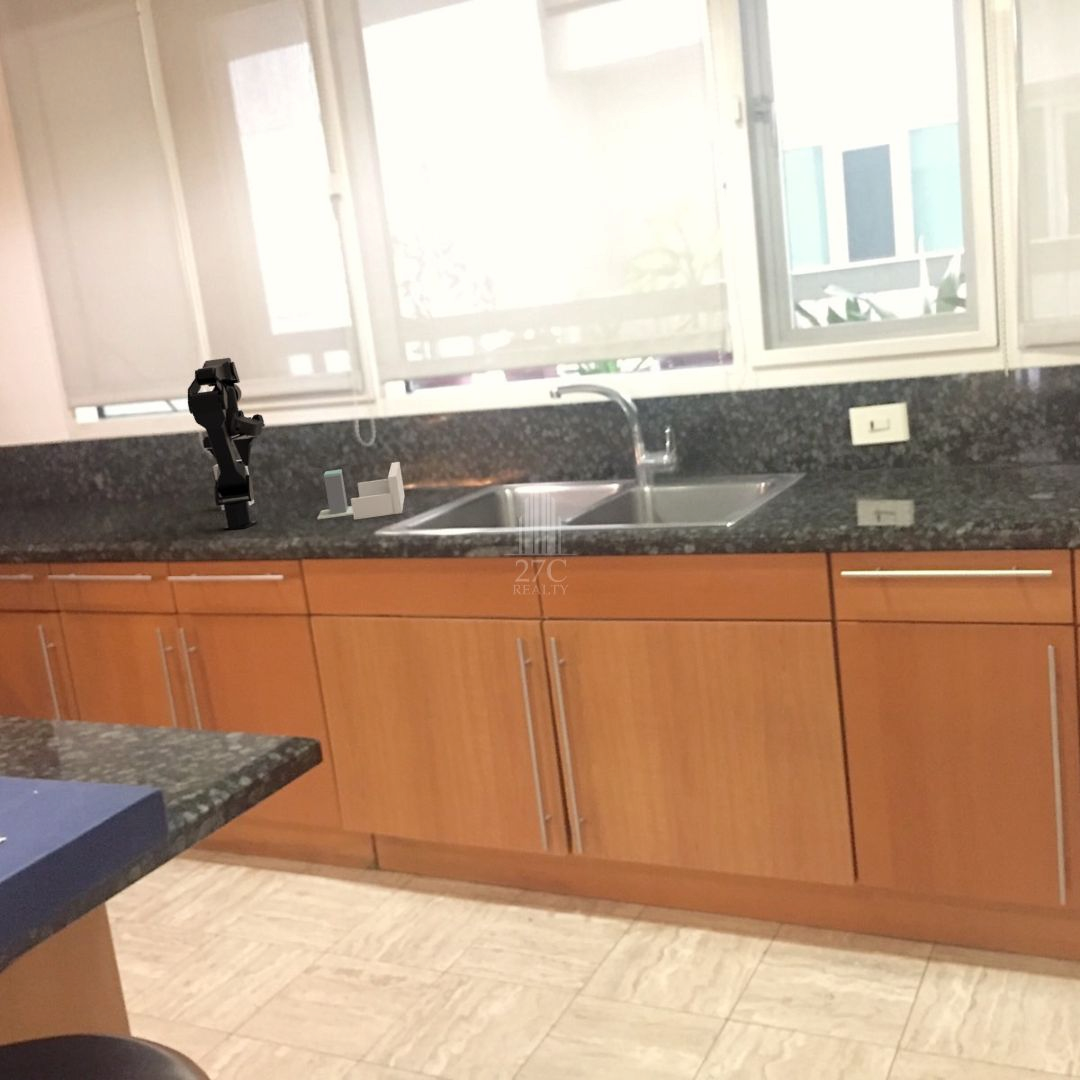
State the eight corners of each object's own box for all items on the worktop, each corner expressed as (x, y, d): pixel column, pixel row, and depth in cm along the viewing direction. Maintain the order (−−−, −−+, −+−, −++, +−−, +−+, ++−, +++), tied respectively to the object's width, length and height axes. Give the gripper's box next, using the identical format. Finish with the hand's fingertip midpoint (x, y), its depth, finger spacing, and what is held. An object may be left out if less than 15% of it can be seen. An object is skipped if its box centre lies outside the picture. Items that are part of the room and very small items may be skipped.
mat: (317, 519, 292) (317, 518, 292) (321, 511, 303) (321, 510, 303) (358, 513, 293) (357, 512, 292) (360, 506, 303) (360, 504, 303)
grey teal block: (330, 514, 294) (323, 474, 292) (332, 510, 300) (325, 471, 298) (346, 512, 295) (339, 472, 293) (348, 508, 301) (341, 469, 299)
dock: (354, 519, 285) (348, 482, 283) (360, 501, 311) (355, 467, 309) (401, 512, 286) (396, 476, 284) (404, 495, 311) (399, 461, 309)
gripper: (235, 411, 290) (247, 474, 293) (272, 400, 307) (283, 460, 311) (196, 415, 293) (207, 477, 297) (234, 404, 311) (245, 463, 314)
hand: (237, 469), depth 305 cm, fingers open, 9 cm apart
